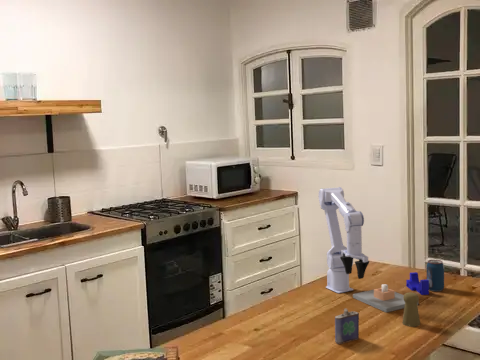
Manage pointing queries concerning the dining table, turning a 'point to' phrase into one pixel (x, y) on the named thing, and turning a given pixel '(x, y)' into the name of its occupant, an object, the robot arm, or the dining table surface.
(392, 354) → the dining table surface
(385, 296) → the collar
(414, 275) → the cable clip
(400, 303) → the post board
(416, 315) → the cork
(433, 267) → the soda can
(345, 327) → the flask
